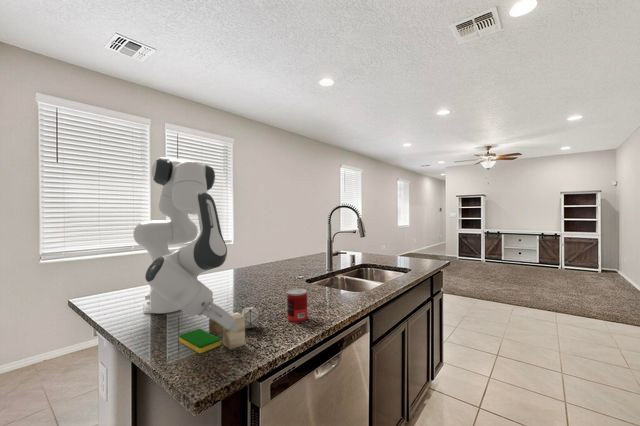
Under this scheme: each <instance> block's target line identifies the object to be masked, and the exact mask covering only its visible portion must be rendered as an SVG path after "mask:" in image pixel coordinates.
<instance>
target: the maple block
mask: <svg viewBox="0 0 640 426" xmlns="http://www.w3.org/2000/svg"><path fill="white" fill-rule="evenodd" d="M230 314H231V315H232V316H233V317H234V318H235V319H236V321H235V322H234V323H235V324H236V325H237V326H238V329H237V330H236V331H235V332H234V331H233V330H232V329H229V330H227V329H225V328H223V334H222V345H223V346H225V348H228V349H229V350H232V349H235V348H239V347H242V346H244V345H246V328H245V316H244V315H242V314H241V313H239V312H233V313H230Z"/></svg>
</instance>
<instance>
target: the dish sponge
mask: <svg viewBox="0 0 640 426" xmlns="http://www.w3.org/2000/svg"><path fill="white" fill-rule="evenodd" d="M221 339H222V338H220V337H218V336H215V334H213V333H210V332H207V331H206V330H203V329H201V328H197V329H193V330H191V331H188V332H185V333H181V334H179V336H178V342H180V343H181V344H183V345H185V346H187V348H190V349H192V350H193V351H195V352H196V353H198V354H203V353H204V352H207V351H209V350H212V349H215V348H217V347H219V346H221V343H222V341H221Z"/></svg>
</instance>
